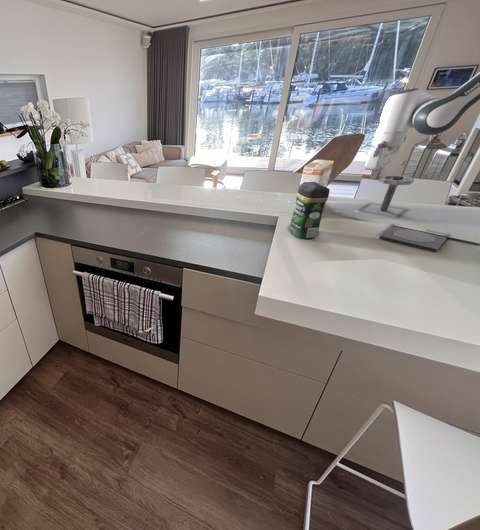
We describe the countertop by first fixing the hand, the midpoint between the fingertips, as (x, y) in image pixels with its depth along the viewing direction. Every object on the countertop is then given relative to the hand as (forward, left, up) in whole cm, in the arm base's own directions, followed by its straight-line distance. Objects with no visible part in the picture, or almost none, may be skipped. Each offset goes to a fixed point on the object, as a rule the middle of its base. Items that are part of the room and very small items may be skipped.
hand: (374, 177), depth 113 cm
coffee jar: (+6, +40, -13) cm, 43 cm away
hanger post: (-6, 0, -13) cm, 15 cm away
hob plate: (-20, +20, -13) cm, 32 cm away
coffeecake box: (+16, +14, -13) cm, 25 cm away
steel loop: (-4, 0, -1) cm, 4 cm away
